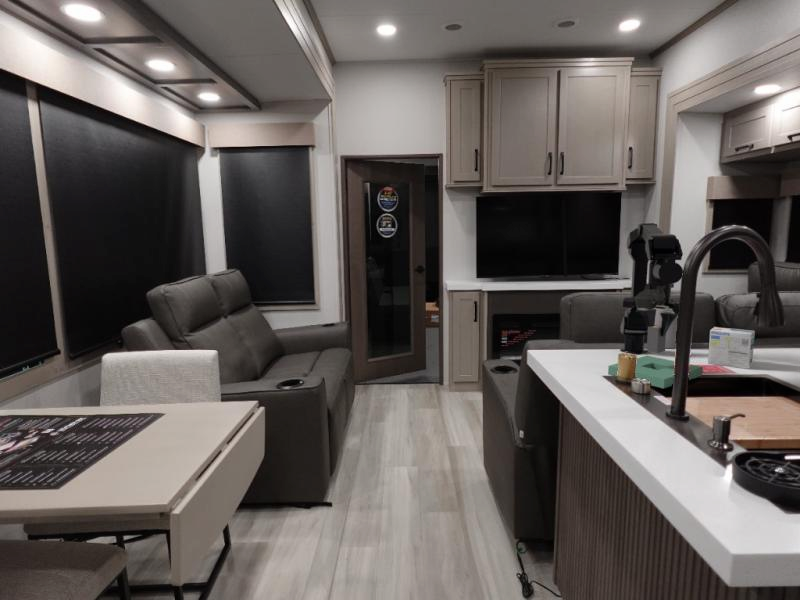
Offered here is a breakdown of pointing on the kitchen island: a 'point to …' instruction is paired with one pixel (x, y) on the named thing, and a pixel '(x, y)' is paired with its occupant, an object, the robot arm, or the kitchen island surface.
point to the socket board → (657, 370)
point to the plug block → (655, 339)
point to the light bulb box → (731, 347)
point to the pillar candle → (671, 331)
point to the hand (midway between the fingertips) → (656, 335)
